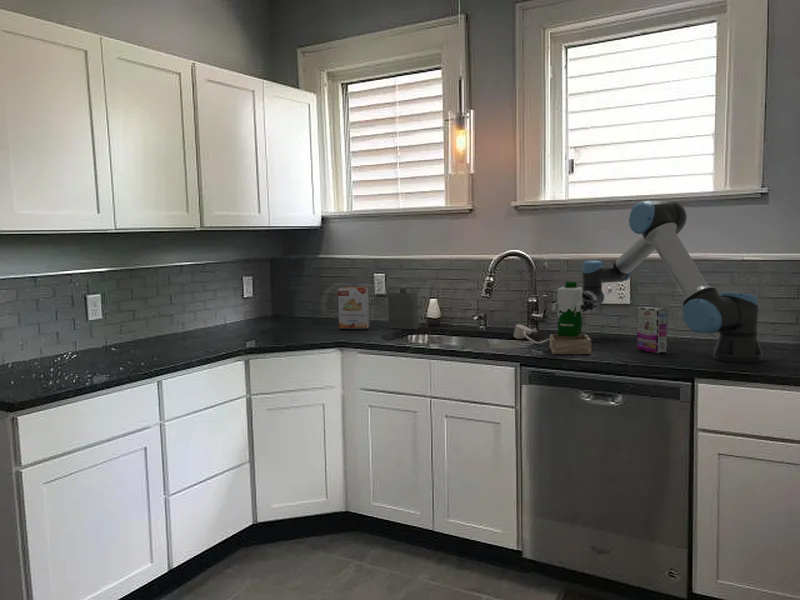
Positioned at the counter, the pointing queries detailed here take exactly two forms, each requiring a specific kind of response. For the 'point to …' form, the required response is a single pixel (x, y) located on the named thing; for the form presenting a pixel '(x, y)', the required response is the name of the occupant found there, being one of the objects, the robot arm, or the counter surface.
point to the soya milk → (569, 310)
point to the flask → (403, 309)
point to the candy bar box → (652, 329)
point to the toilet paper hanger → (524, 333)
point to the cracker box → (353, 307)
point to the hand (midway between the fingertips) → (565, 307)
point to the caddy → (570, 344)
